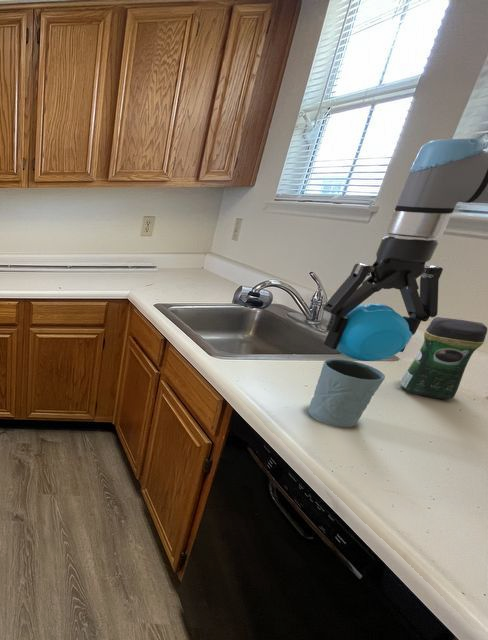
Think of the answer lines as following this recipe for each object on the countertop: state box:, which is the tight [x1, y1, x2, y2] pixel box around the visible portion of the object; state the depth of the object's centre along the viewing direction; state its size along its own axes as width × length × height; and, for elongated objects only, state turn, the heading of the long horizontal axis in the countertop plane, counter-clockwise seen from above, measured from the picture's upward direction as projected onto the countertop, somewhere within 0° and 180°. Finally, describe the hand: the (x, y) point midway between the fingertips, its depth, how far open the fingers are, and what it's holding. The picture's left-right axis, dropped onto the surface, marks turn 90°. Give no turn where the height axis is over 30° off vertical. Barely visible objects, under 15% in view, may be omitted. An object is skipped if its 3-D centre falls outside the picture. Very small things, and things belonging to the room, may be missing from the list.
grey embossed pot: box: [307, 358, 386, 428], centre depth 89 cm, size 10×10×12 cm
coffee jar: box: [400, 316, 488, 400], centre depth 99 cm, size 10×8×19 cm
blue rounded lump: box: [336, 302, 413, 362], centre depth 83 cm, size 12×11×12 cm
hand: (362, 348), depth 85 cm, fingers closed on blue rounded lump, 12 cm apart
